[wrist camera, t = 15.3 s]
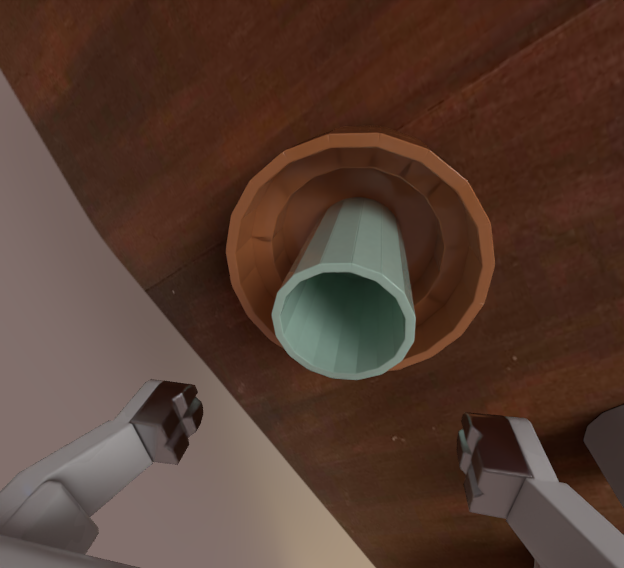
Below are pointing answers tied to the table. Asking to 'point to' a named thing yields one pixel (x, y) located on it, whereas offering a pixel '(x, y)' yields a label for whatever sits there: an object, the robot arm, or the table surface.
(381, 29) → the table surface
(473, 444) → the robot arm
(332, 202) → the brown bowl
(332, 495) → the table surface
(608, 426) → the cup
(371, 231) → the tumbler
